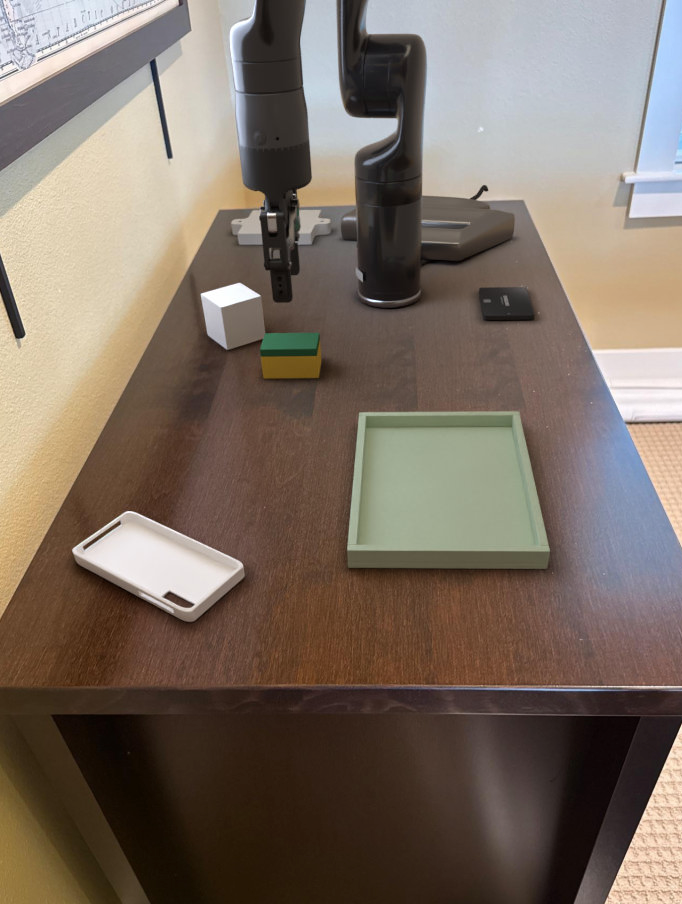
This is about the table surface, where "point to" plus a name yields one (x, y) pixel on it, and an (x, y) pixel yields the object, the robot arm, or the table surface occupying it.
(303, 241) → the mounting plate
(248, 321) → the white cube
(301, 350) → the sponge
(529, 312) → the solid state drive
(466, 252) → the grey contoured platform
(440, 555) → the tray
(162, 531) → the phone case
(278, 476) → the table surface
